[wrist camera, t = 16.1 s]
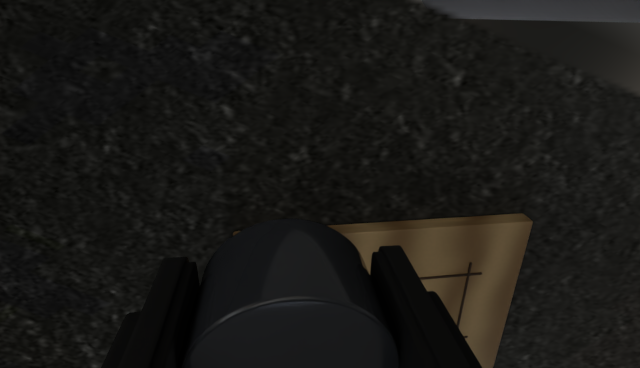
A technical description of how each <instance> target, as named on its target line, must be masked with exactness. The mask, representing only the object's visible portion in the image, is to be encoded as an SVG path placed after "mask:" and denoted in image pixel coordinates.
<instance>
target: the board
mask: <svg viewBox="0 0 640 368" xmlns="http://www.w3.org/2000/svg"><path fill="white" fill-rule="evenodd" d="M532 223H533V221H532V220H531V219H529V218H528V217H527V216H525V215H524V214H523V213H519V214H503V215H487V216H472V217H456V218H440V219H424V220H408V221H392V222H376V223H361V224H345V225H329V227H331V228H332V229H334V230H336V231H338V232H340V233H341V234H342V235H344V236H345V237H346V238H348V239H349V240H350V241H351V242H352V243H353V244H354V245H355V247H356V248H357V249H358V251H359V252H360V254H361V256H362V258H363V260H364V262H365V264H366V267H367V269H368V272H369V275H370V270H371V259H372V253H373V252H378V249H379V247H380V246H393V245H400V246H401V247H402V248H403V250H404V252H405V254H406V255H407V257H408V259H409V261H410V262H411V264H412V266H413V268H414V269H415V271H416V273H417V274H418V276H419V278H420V280H421V281H422V283H423V285H424V287H425V288H426V290H427V291H434V292H436V293H437V294H438V296H439V297H440V299H441V300H442V302H443V304H444V305H445V307H446V308H447V310H448V312H449V313H450V315H451V317H452V318H453V320H454V322H455V323H456V325H457V327H458V328H459V330H460V332H461V333H462V335H463V337H464V338H465V340H466V341H467V343H468V345H469V346H470V348H471V350H472V351H473V353H474V355H475V356H476V358H477V360H478V361H479V363H480V365H481V366H482V368H493V366H494V362H495V358H496V355H497V351H498V347H499V344H500V340H501V336H502V333H503V329H504V326H505V322H506V318H507V315H508V311H509V307H510V304H511V300H512V296H513V293H514V289H515V285H516V282H517V278H518V274H519V271H520V267H521V264H522V260H523V256H524V253H525V249H526V245H527V242H528V238H529V234H530V231H531V227H532ZM238 232H240V231H234V232H233V236H234V235H235V234H237V233H238Z"/></svg>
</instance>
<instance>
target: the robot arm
mask: <svg viewBox="0 0 640 368" xmlns="http://www.w3.org/2000/svg"><path fill="white" fill-rule="evenodd" d="M370 277H371V280H372V282H373V285H374V287H375V290H376V292H377V295H378V297H379V300H380V303H381V305H382V308H383V310H384V313H385V315H386V318H387V320H388V323H389V325H390V328H391V331H392V333H393V336H394V338H395V341H396V344H397V347H398V350H399V356H400V367H399V368H482V366H481V365H480V363H479V361H478V360H477V358H476V356H475V355H474V353H473V351H472V350H471V348H470V346H469V345H468V343H467V341H466V340H465V338H464V337H463V335H462V333H461V332H460V330H459V328H458V327H457V325H456V323H455V322H454V320H453V318H452V317H451V315H450V313H449V312H448V310H447V308H446V307H445V305H444V304H443V302H442V300H441V299H440V297H439V296H438V294H437V293H436V292H434V291H427V290H426V288H425V287H424V285H423V283H422V281H421V280H420V278H419V276H418V274H417V273H416V271H415V269H414V268H413V266H412V264H411V262H410V261H409V259H408V257H407V255H406V254H405V252H404V250H403V248H402V247H401V246H400V245H393V246H380V247H379V249H378V252H373V253H372V259H371V270H370ZM199 289H200V287H199V279H198V272H197V266H196V263H195V262H189V260H188V258H187V257H178V258H165V259H164V260H163V261H162V264H161V266H160V268H159V271H158V273H157V276H156V278H155V280H154V283H153V285H152V287H151V290H150V292H149V295H148V297H147V299H146V302H145V304H144V307H143V309H142V311H141V312H134V313H129V314H127V315H126V317H125V319H124V320H123V322H122V324H121V327H120V329H119V331H118V333H117V335H116V337H115V340H114V342H113V344H112V346H111V348H110V350H109V352H108V355H107V357H106V359H105V361H104V363H103V365H102V367H101V368H180V367H181V363H182V359H183V355H184V351H185V347H186V342H187V338H188V334H189V330H190V326H191V322H192V318H193V314H194V310H195V305H196V301H197V297H198V293H199Z"/></svg>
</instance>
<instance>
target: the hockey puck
mask: <svg viewBox="0 0 640 368" xmlns="http://www.w3.org/2000/svg"><path fill="white" fill-rule="evenodd" d="M399 367H400V356H399V350H398V347H397V344H396V341H395V338H394V336H393V333H392V331H391V328H390V325H389V323H388V320H387V318H386V315H385V313H384V310H383V308H382V305H381V303H380V300H379V297H378V295H377V292H376V290H375V287H374V285H373V282H372V280H371V277H370V275H369V272H368V269H367V267H366V264H365V262H364V260H363V258H362V256H361V254H360V252H359V251H358V249H357V248H356V247H355V245H354V244H353V243H352V242H351V241H350V240H349V239H348V238H346V237H345V236H344V235H342V234H341V233H340V232H338V231H336V230H334V229H332V228H331V227H329V226H326V225H323V224H321V223H318V222H314V221H310V220H303V219H276V220H270V221H266V222H261V223H259V224H256V225H253V226H250V227H248V228H246V229H244V230H242V231H240V232H238V233H237V234H235V235H234V236H232V237H231V238H229V239H228V240H227V241H226V242H225V243H223V244H222V245H221V246H220V247H219V248H218V250H217V251H216V252H215V253H214V254H213V256H212V257H211V259H210V260H209V262H208V264H207V266H206V268H205V270H204V274H203V277H202V281H201V285H200V289H199V293H198V297H197V301H196V305H195V310H194V314H193V318H192V322H191V326H190V330H189V334H188V338H187V342H186V347H185V351H184V355H183V359H182V363H181V367H180V368H399Z"/></svg>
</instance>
